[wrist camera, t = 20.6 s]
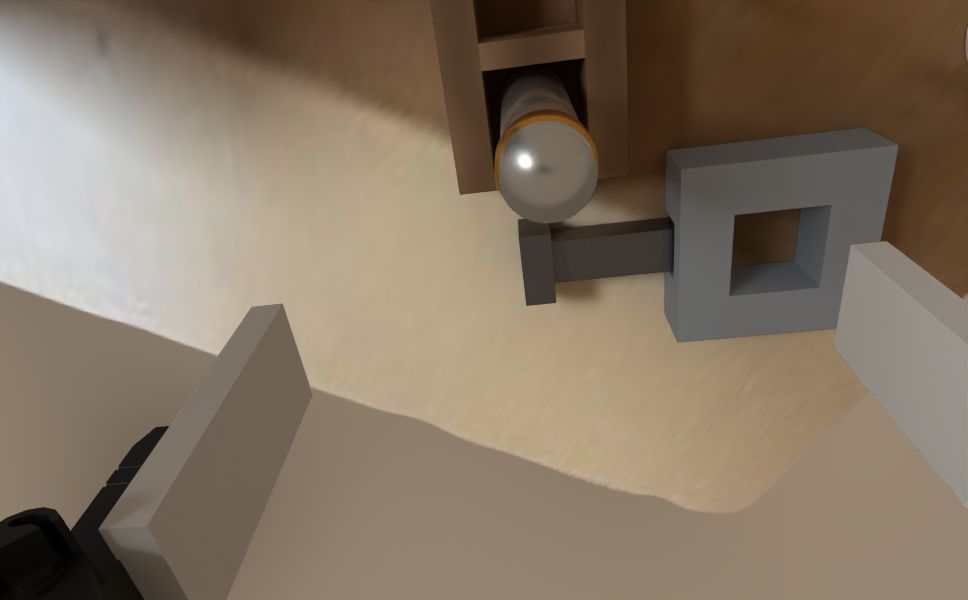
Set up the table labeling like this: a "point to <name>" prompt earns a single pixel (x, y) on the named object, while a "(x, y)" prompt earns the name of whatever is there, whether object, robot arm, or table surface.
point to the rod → (543, 149)
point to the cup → (966, 45)
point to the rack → (587, 40)
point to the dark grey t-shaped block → (591, 253)
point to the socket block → (761, 188)
